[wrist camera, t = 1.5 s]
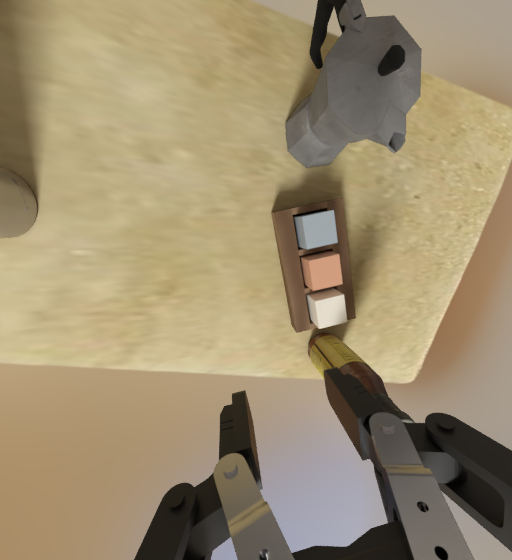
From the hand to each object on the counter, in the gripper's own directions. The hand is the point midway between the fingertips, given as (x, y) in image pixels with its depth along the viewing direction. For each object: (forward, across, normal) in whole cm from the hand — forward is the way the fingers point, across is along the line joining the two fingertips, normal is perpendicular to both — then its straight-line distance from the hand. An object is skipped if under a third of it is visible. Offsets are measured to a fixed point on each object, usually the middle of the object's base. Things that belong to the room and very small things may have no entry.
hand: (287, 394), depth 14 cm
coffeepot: (+28, -14, -20) cm, 37 cm away
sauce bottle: (+28, -11, +15) cm, 33 cm away
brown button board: (+27, -11, 0) cm, 29 cm away
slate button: (+25, -11, -6) cm, 28 cm away
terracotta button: (+25, -11, 0) cm, 28 cm away
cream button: (+25, -11, +6) cm, 28 cm away
